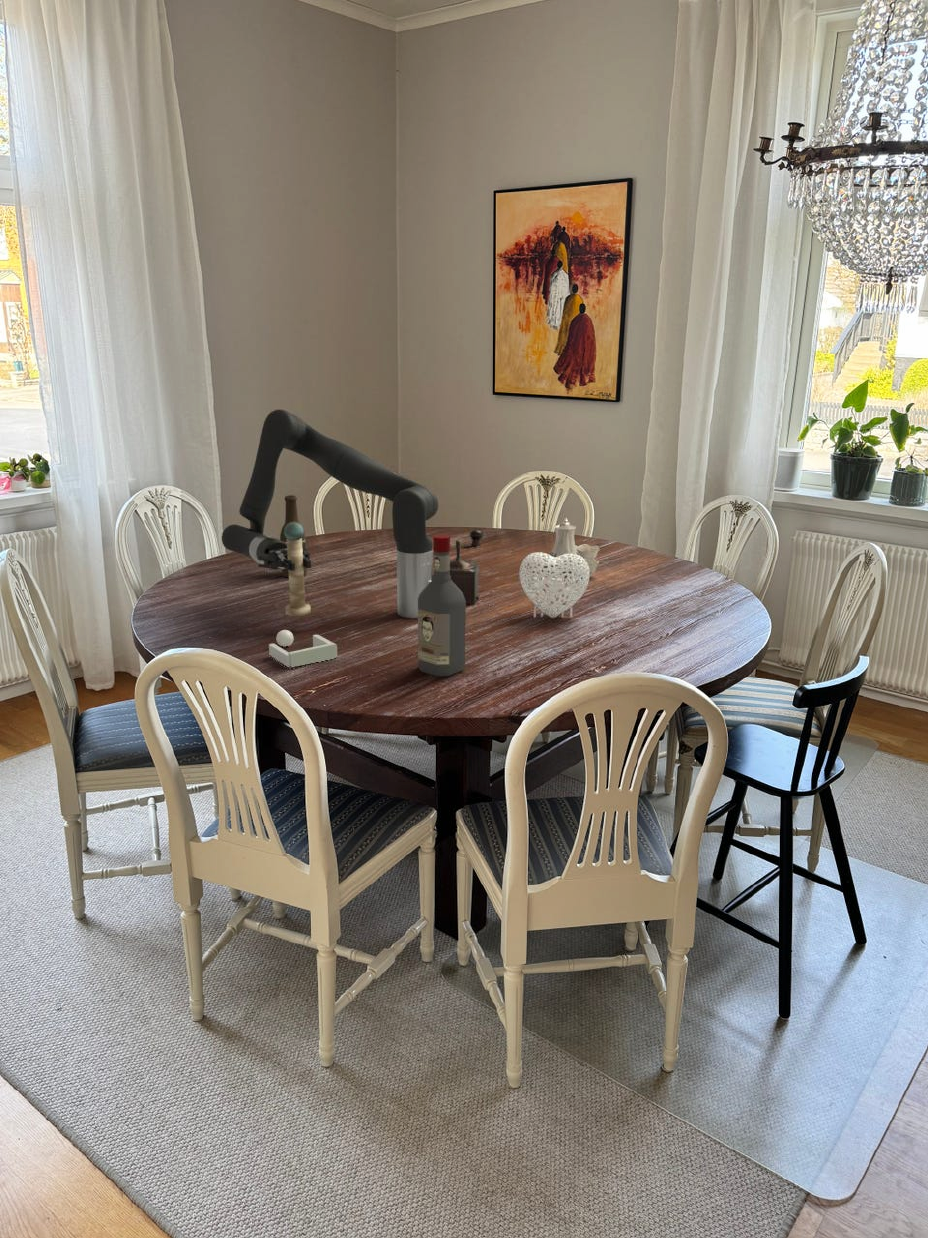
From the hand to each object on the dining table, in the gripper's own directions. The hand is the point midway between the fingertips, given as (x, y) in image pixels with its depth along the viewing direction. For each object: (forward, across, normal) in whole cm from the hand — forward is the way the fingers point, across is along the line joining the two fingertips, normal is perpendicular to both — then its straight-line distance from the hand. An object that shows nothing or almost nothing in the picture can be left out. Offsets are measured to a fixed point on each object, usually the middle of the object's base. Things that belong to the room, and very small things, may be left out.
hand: (301, 565), depth 225 cm
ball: (+6, -8, +15) cm, 18 cm away
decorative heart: (+25, +59, +18) cm, 66 cm away
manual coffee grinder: (-4, +50, +18) cm, 54 cm away
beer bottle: (-50, +23, +17) cm, 58 cm away
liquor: (+39, +13, +18) cm, 45 cm away
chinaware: (-7, +97, +18) cm, 99 cm away
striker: (-3, 0, +12) cm, 13 cm away
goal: (+15, -8, +17) cm, 24 cm away
